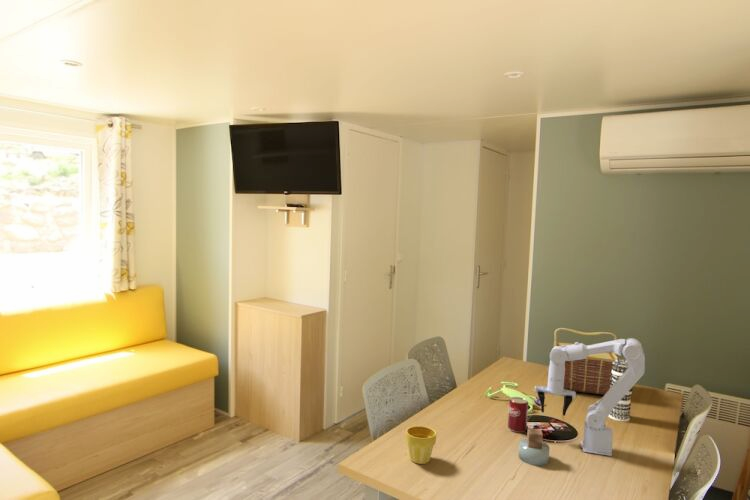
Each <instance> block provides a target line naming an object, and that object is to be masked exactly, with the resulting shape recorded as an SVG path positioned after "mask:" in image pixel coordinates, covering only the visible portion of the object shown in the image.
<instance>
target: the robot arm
mask: <svg viewBox="0 0 750 500" xmlns="http://www.w3.org/2000/svg"><path fill="white" fill-rule="evenodd" d="M573 344H574V345H568V346H565V345H562V346H561V347H560V346H556V347H554V346H553V347H552V349H551V351H550V352H549V359H550V360H549V366H548V374H547V375H548V376H547V385H546V386H543V385H539V386H537V385H535V386H534V393H537V398H539V399H540V403H541V405H540V406H541V407H540V408H541V409H540V410H541V413H544V411H545V399H546V397H545V394H548V395H554V396H555V395H556V396H562V397H563V406H562V416H566V413H567V411H568V409H569V407H570V405H571V404H572V402H573V399H576V396H577V394H576V393H577V392H576V391H570V390H565V389H563V387H564V376H565V361H574V360H580V359H586V358H587V357H588V355H590V354H599V353H608V352H613V353H615V355H616V356H617V355H618V356H619V357H621V356H622V355H623V357H624V358H625V359H624V360H627V363H628V367H629V368H628V369H627V370H626V371H625V372H624V373H623V375H622V376H621V377H620V378H619V379H618V380H617V381H616V382H615V384H614V385H613V386H612V387H611V388H610V389H609V390H608V392H607V393H606V394H605V395H602V397H601V398H600V399H598V400H597V401H596V402H595V403H593V404H591V405H589V406H588V408H587V410H586V412H587V413H586V416H585V421H584V425H583V426H584V429H583V440H581V441H580V445H581V448H582V451H583V452H584V453H589V454H595V455H602V456H608V457H612V456H613V453H612V452H613V443H614V442H613V441H614V436H613V435H614V433H613V429H612V427H609V426H607V424H606V420H607V418H609V417H608V416H609V414H610V412H611V410H612V409H613V408H614V407H615V406H616V405H617V403H618V402H619V401H620V400H621V399H622V398H623V397H624V396H625V395H626V393H627V392H628V391H629V390H630V389H632V388H633V387H634V386H635V385H636V384H637V383H638V382H639V380H640V379H641V378H642V377H643V376H644V375H645V371H646V368H645V366H646V365H645V364H646V363H645V362H646V356H645V350H644V348H643V345H642V343H641V341H639V339H636V338H634V337H629V338H626V339H625V338H619V339H618V338H617V340H614V339H613V340H609V341H604V342H599V343H593V344H584V343H583V342H581V343H579V341H575V342H574V343H573ZM586 345H588V346H586Z"/></svg>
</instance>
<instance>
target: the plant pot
mask: <svg viewBox="0 0 750 500" xmlns="http://www.w3.org/2000/svg"><path fill="white" fill-rule="evenodd" d="M405 442H406V444H407V446H408V447H407V448H408V452H409V454H408V455H409V459H410V461H411V462H413V463H415V464H418V465H426V464H428V463H429V462H430V460H431V456H432V451H433V450H434V449H433V448H434V446H435V445H436V442H437V432H436V431H435V429H433V428H431V427H429V426H424V425H413V426H410V427H408V428H406V431H405Z"/></svg>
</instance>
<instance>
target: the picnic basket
mask: <svg viewBox="0 0 750 500" xmlns="http://www.w3.org/2000/svg"><path fill="white" fill-rule="evenodd" d="M559 331H569V332H571V333H573V334H575V335H579V336H586V337H594V336H599V335H609V336H612V337H613V340H618V336H617V335H616V334H615V333H613V332H606V331H605V332H604V331H598V332H597V331H596V332H595V331H594V332H583V331H579V330H575V329H571V328H565V327H559V328H557V329H555V331H554V332H553V333H554V334H553V335H554V341H553V348H554V347H556V346H560V347H561V346H562V345H565V346H568V345H574V344H575V343H570V342H559V341H558V332H559ZM585 345H586V346H588V345H589V344H585ZM617 359H619V358H618V356H617V354H615V353H613V352H608V353H599V354H590V355H588V357H587V358H586V359H580V360H574V361H565V376H564V387H563V389H565V390H569V391H574V392H580V393H585V394H586V393H587V394H593V395H601V396H604V395H605V394H606V393H607V392H608V390H609V389H610V381H611V380H610V377H611V376H610V373H611V372H612V369H613V363H612V362H614V361H615V360H617Z"/></svg>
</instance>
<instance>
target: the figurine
mask: <svg viewBox="0 0 750 500" xmlns="http://www.w3.org/2000/svg"><path fill="white" fill-rule="evenodd" d="M500 385H503V387H501V389H499V390H497V391H494V392H492V391H493V388H494V387H491V386H490V387H489V388H487V390H486V392H485V393H484V398H485V397H488V398H492V397H493V396H497V395H499V394H501V393H503V394H504V395H505V396H506V397H508V398H512V397H521V398H524V399H526V400H527V401H528V407H530V408H528V414H529V413H531V412H532V411H533V409H534V407H533V406H535V405H536V404H537V405H540V406H541V403H540V399H539V397H538V396H534V395H533V396H532V395H527V394H525V393H523V392H521V391H518V390H515V389H518V387H519V384H518V383H517V382H512V381H511V382H510V381H501V382H500ZM511 387H512V388H511ZM513 388H515V389H513Z"/></svg>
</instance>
